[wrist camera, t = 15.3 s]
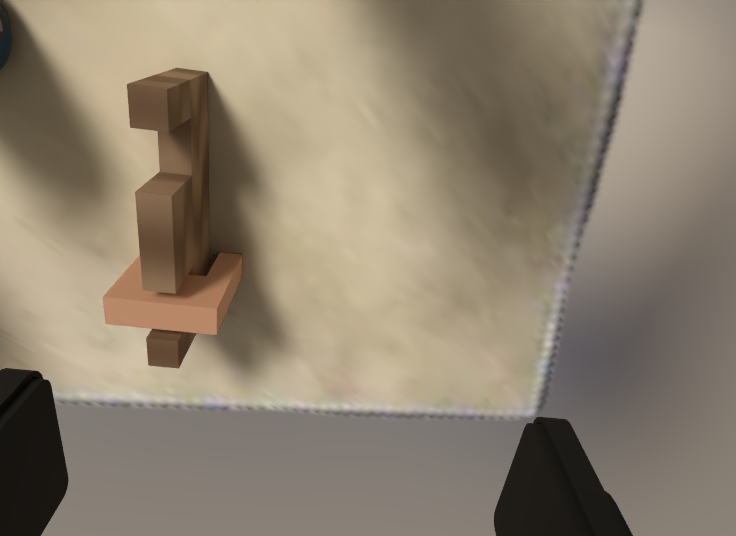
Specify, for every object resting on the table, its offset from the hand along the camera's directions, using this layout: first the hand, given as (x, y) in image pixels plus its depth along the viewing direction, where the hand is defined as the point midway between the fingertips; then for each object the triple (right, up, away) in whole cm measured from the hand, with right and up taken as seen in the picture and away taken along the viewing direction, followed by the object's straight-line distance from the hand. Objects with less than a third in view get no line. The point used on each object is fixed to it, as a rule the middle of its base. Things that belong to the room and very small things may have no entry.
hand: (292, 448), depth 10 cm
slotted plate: (-12, +4, +29) cm, 32 cm away
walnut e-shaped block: (-11, +9, +27) cm, 31 cm away
